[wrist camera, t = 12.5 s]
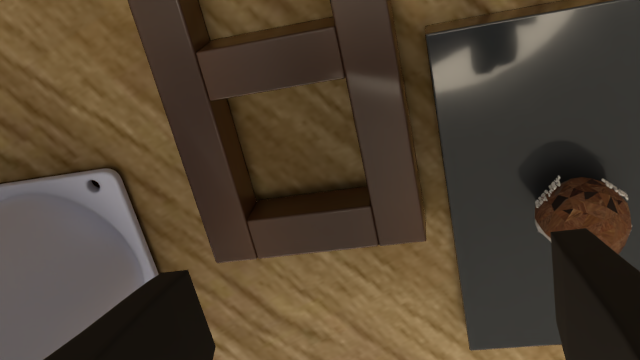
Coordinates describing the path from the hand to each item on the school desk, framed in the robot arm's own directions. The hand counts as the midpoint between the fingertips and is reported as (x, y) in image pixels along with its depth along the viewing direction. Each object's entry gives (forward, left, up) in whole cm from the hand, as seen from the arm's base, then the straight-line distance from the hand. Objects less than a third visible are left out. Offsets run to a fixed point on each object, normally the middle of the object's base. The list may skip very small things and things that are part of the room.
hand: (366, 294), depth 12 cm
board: (+6, -3, -9) cm, 11 cm away
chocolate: (+6, -3, -8) cm, 11 cm away
